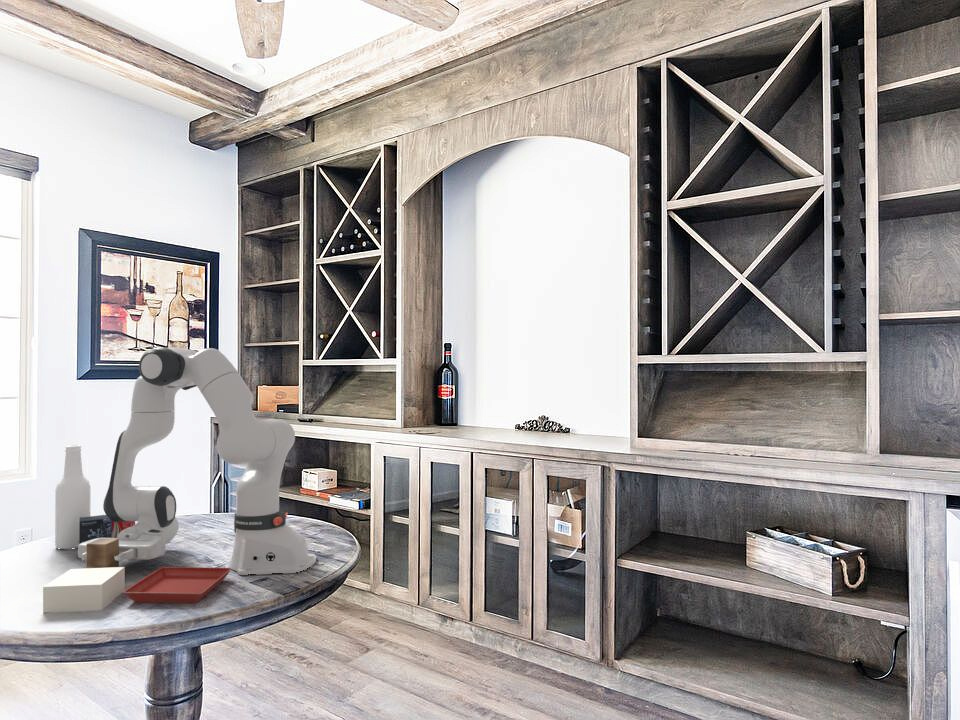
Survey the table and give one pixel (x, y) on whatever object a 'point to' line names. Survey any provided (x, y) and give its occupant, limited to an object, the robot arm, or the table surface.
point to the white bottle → (71, 500)
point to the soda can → (120, 527)
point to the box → (94, 528)
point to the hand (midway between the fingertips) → (100, 558)
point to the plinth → (84, 589)
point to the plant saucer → (176, 584)
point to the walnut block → (102, 553)
